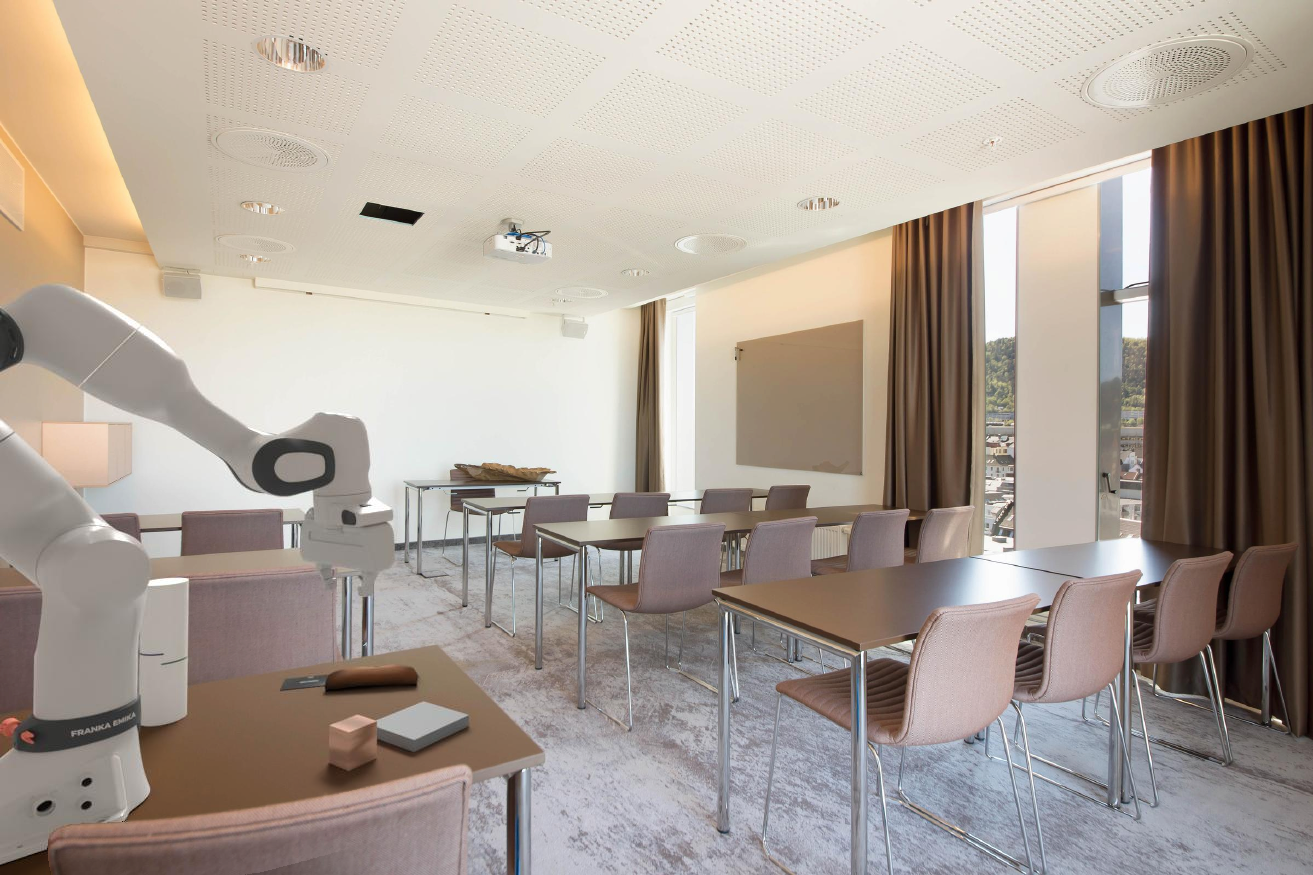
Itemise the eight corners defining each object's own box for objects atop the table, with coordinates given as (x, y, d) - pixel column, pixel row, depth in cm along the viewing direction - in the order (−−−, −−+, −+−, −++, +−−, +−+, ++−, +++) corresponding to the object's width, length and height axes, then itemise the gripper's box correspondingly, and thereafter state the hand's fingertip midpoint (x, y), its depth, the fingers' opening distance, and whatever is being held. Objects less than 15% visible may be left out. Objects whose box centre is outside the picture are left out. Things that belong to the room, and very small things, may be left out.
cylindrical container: (146, 713, 125) (148, 579, 125) (191, 708, 128) (193, 576, 128) (132, 728, 119) (134, 586, 119) (180, 722, 121) (182, 584, 121)
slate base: (414, 751, 111) (414, 739, 111) (367, 735, 117) (367, 723, 117) (468, 725, 121) (469, 714, 121) (423, 711, 127) (423, 701, 127)
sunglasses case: (422, 671, 148) (420, 650, 145) (418, 698, 142) (416, 677, 139) (334, 677, 145) (330, 655, 141) (326, 705, 139) (322, 683, 135)
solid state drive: (285, 681, 144) (285, 678, 144) (336, 676, 147) (336, 673, 147) (279, 693, 137) (279, 689, 137) (333, 687, 141) (333, 684, 141)
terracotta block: (348, 771, 104) (349, 732, 104) (328, 763, 107) (329, 725, 107) (376, 758, 108) (377, 720, 109) (357, 750, 111) (357, 714, 111)
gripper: (287, 509, 114) (291, 589, 115) (366, 516, 104) (370, 605, 104) (322, 503, 119) (326, 580, 120) (400, 510, 109) (403, 594, 110)
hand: (347, 592), depth 112 cm, fingers open, 8 cm apart
